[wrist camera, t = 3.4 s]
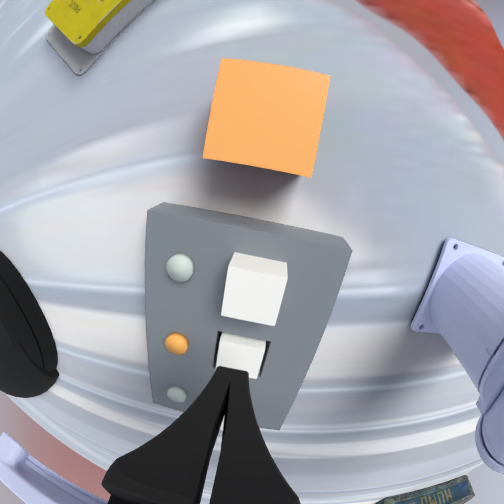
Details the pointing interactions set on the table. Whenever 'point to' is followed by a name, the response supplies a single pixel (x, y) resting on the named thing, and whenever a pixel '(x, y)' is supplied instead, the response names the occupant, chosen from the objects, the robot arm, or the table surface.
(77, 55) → the emergency button
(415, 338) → the table surface
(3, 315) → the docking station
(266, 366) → the breaker board
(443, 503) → the metal box
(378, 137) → the table surface
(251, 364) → the block
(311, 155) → the orange rounded cube
